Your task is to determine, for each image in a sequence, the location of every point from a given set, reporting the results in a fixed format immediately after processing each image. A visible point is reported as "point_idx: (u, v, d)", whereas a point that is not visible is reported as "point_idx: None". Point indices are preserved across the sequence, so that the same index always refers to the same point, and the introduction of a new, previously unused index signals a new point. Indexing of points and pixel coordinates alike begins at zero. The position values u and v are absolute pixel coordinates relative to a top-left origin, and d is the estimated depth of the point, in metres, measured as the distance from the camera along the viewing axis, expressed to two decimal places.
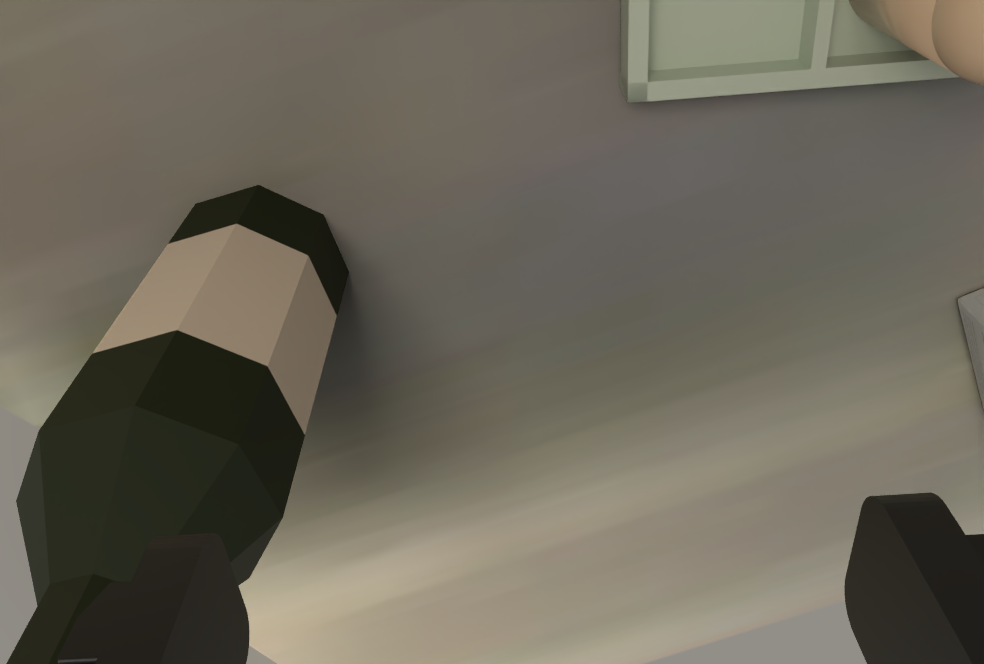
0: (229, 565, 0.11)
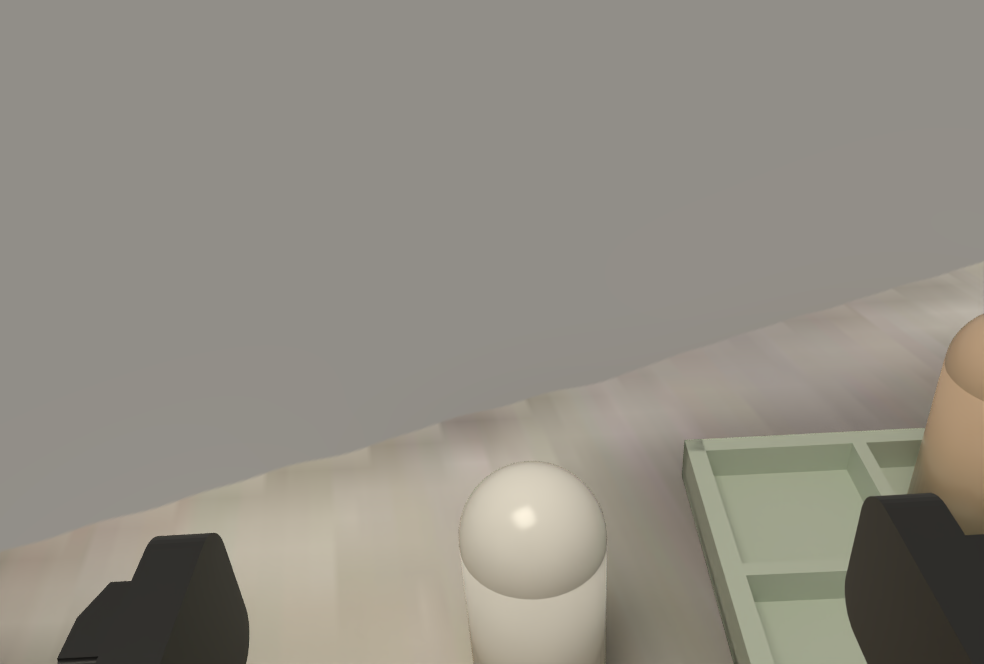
0: (229, 565, 0.11)
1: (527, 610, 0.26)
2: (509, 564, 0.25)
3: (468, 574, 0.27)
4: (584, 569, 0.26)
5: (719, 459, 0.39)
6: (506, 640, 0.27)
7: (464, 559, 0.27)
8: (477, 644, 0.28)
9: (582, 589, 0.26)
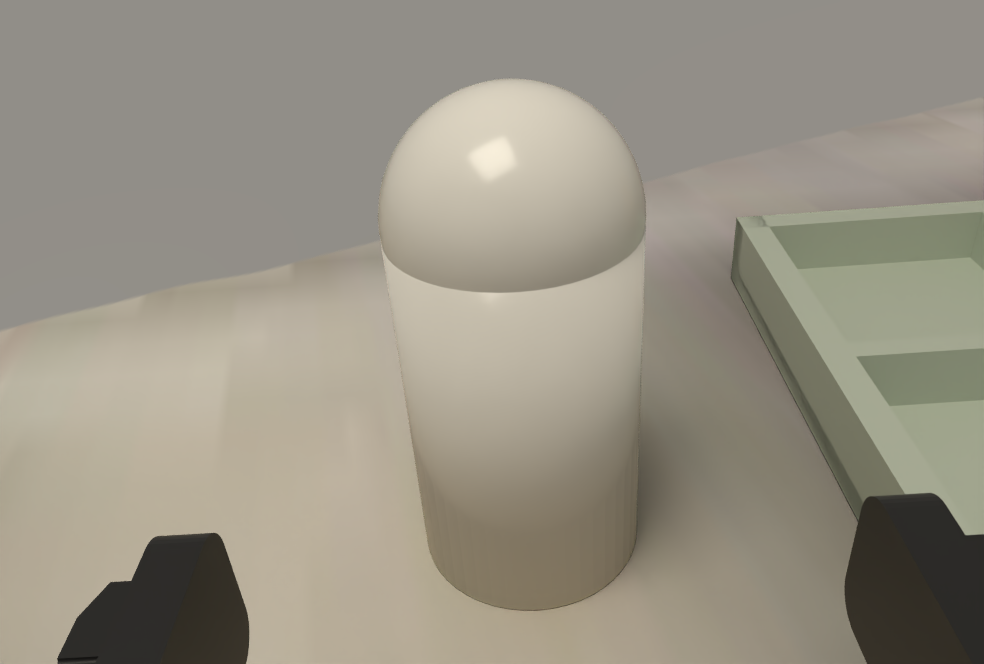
0: (229, 565, 0.11)
1: (502, 319, 0.14)
2: (465, 217, 0.13)
3: (394, 272, 0.15)
4: (608, 238, 0.14)
5: (788, 241, 0.27)
6: (466, 395, 0.15)
7: (386, 242, 0.14)
8: (419, 428, 0.16)
9: (604, 283, 0.14)
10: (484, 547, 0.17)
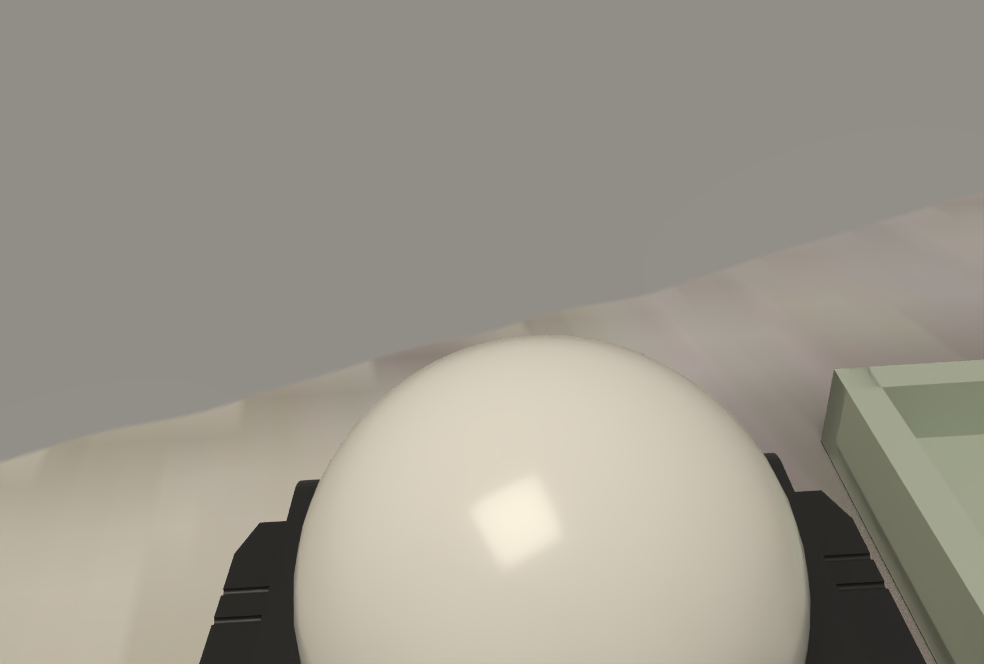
0: None
1: None
2: None
3: None
4: None
5: (906, 405, 0.20)
6: None
7: None
8: None
9: None
10: None
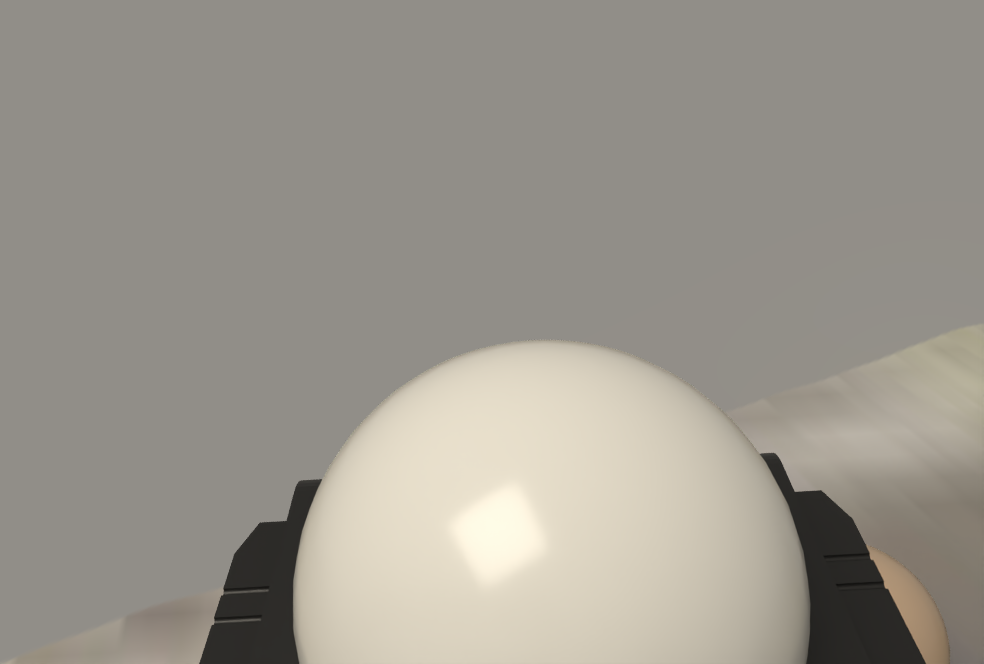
0: None
1: None
2: None
3: None
4: None
5: None
6: None
7: None
8: None
9: None
10: None
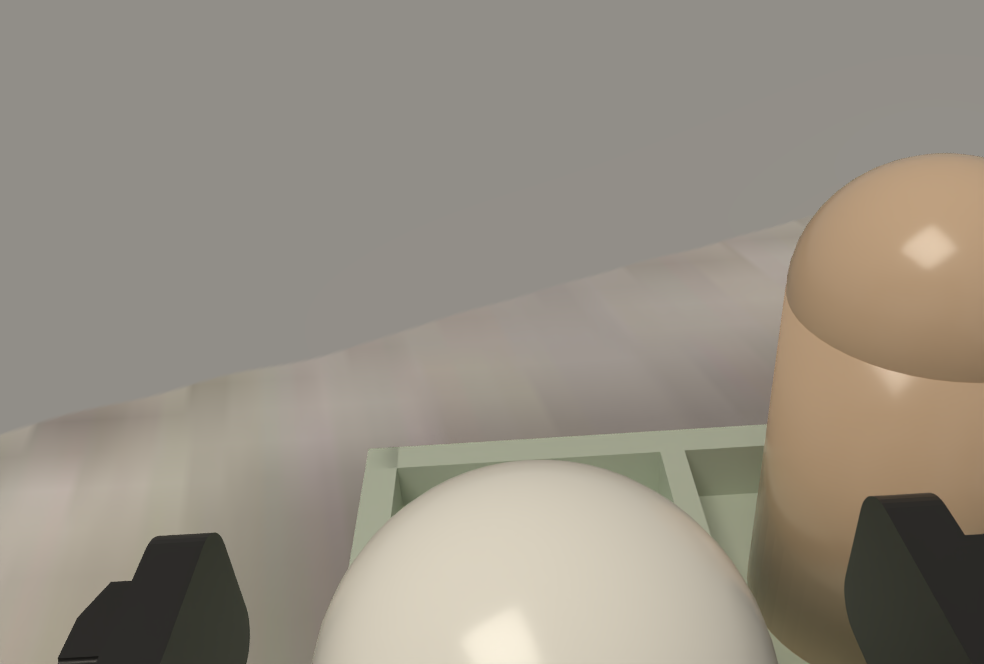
0: (230, 565, 0.11)
1: None
2: None
3: None
4: None
5: (425, 483, 0.22)
6: None
7: None
8: None
9: None
10: None
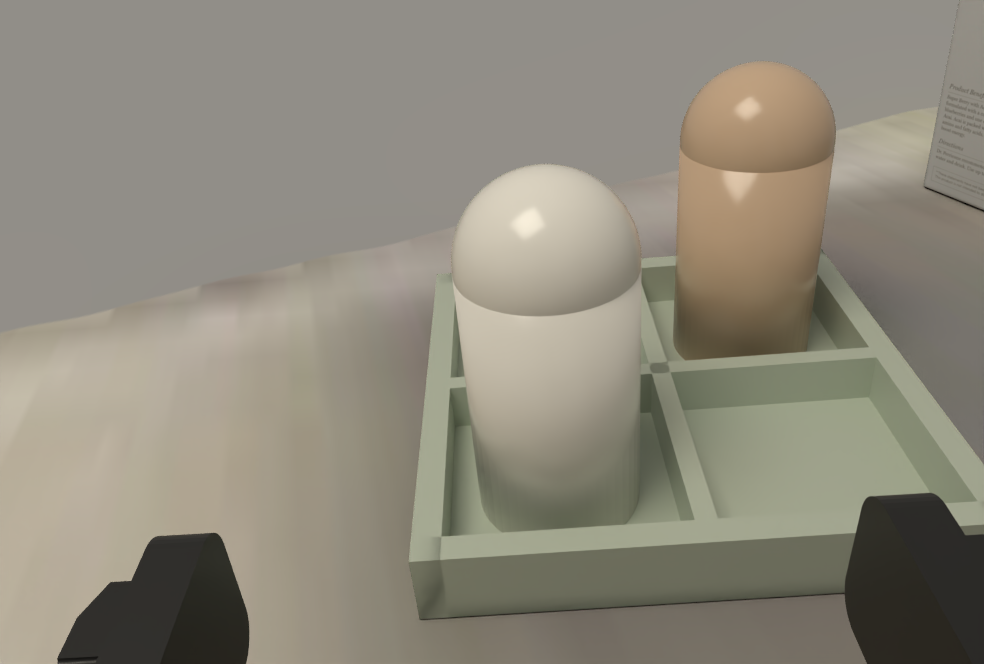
0: (229, 565, 0.11)
1: (540, 334, 0.20)
2: (516, 265, 0.19)
3: (463, 301, 0.21)
4: (614, 277, 0.20)
5: None
6: (514, 387, 0.21)
7: (458, 280, 0.21)
8: (478, 412, 0.22)
9: (611, 308, 0.20)
10: (526, 500, 0.23)
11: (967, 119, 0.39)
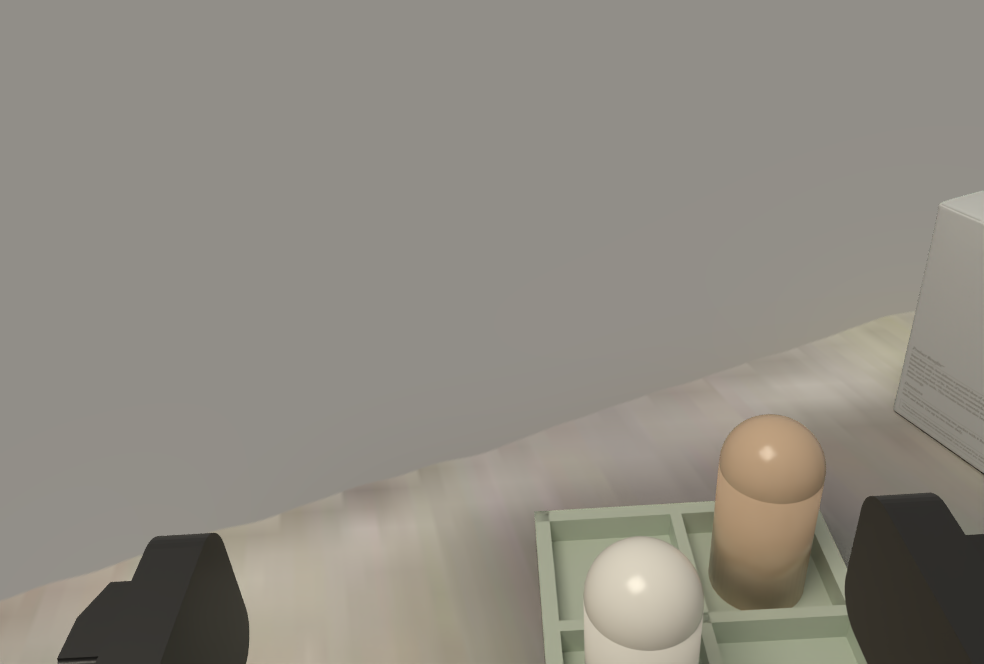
0: (229, 565, 0.11)
1: (644, 659, 0.33)
2: (632, 623, 0.32)
3: (594, 629, 0.33)
4: (690, 626, 0.32)
5: (562, 528, 0.47)
6: None
7: (591, 617, 0.33)
8: None
9: (687, 641, 0.33)
10: None
11: (926, 375, 0.52)
